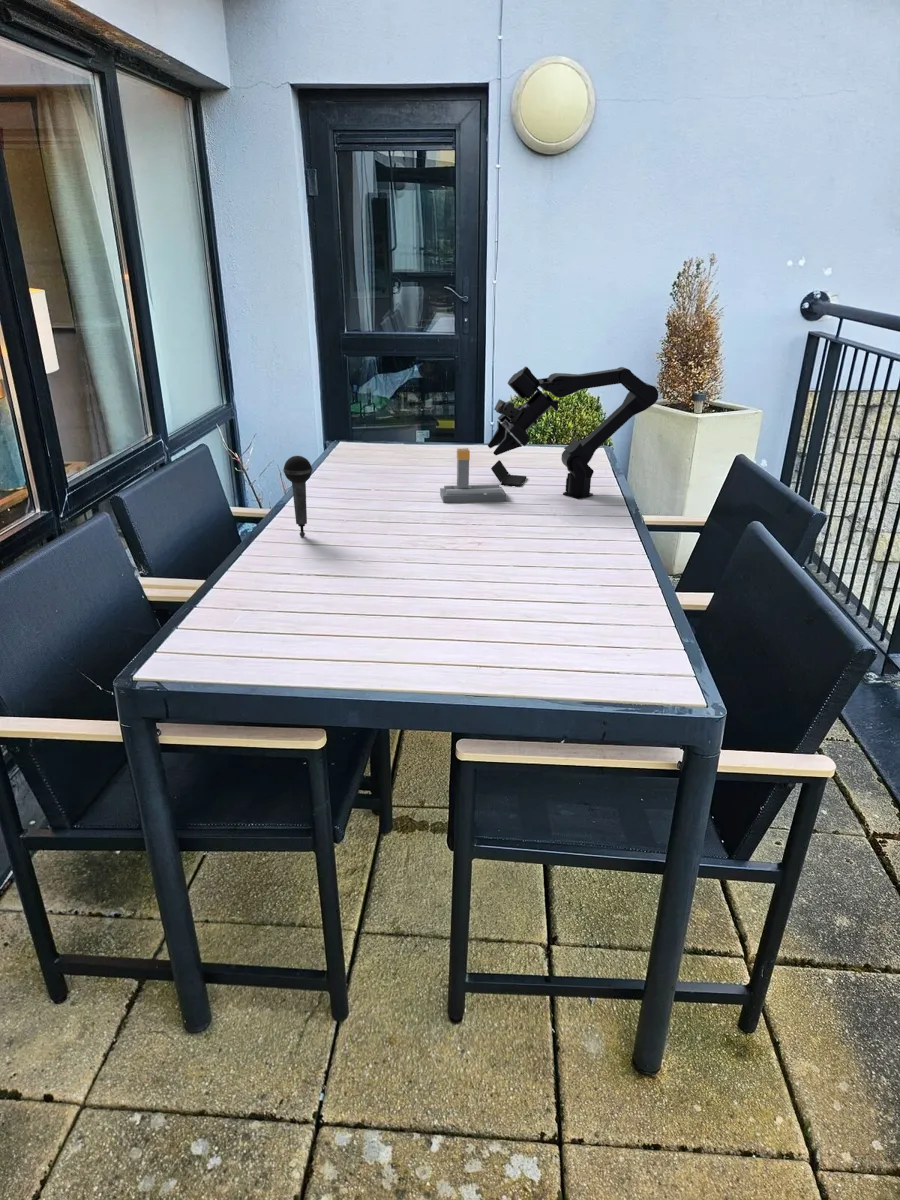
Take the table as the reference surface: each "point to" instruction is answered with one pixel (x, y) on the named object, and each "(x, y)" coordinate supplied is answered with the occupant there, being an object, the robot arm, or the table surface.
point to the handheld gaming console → (507, 476)
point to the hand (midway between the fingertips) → (491, 450)
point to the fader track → (473, 493)
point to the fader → (463, 469)
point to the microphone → (299, 486)
